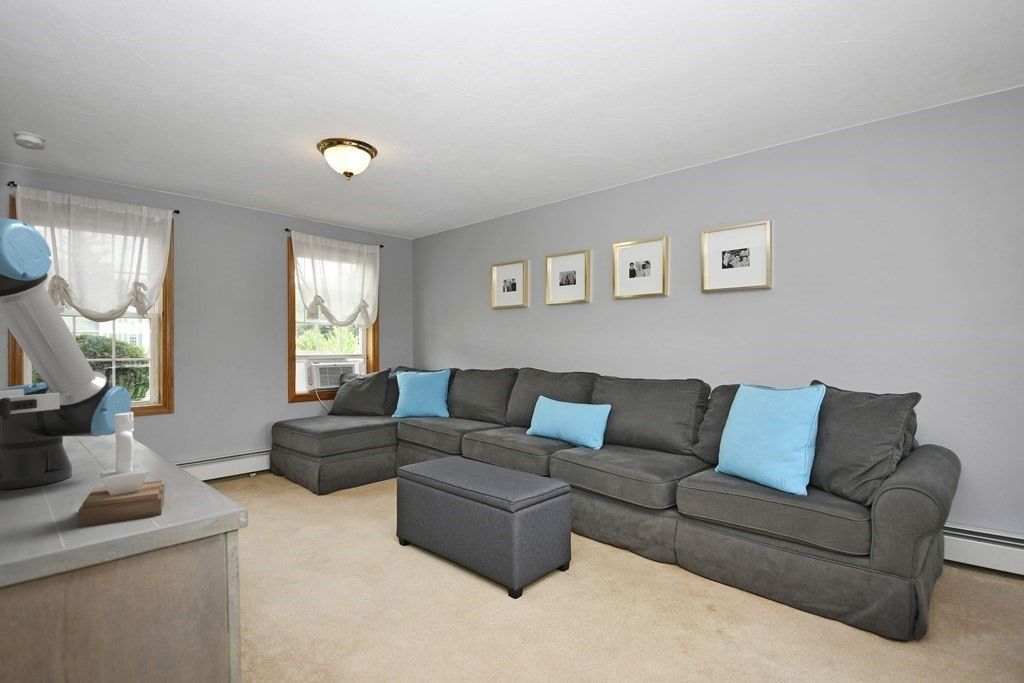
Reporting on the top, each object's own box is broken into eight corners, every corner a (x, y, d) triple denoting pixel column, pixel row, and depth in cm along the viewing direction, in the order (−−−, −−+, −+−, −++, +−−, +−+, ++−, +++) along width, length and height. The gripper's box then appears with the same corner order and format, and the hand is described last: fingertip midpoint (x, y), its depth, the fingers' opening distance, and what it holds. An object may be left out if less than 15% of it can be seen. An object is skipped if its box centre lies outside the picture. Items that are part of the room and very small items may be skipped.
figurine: (101, 500, 92) (101, 416, 93) (99, 489, 100) (99, 412, 100) (149, 492, 97) (149, 413, 97) (144, 482, 104) (144, 408, 104)
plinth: (90, 508, 100) (90, 488, 100) (164, 498, 107) (164, 479, 107) (78, 526, 90) (78, 504, 90) (161, 514, 96) (161, 493, 96)
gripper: (-176, 435, 78) (10, 414, 97) (-125, 451, 66) (75, 425, 85) (-177, 385, 78) (9, 375, 96) (-126, 393, 66) (74, 380, 85)
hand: (40, 398), depth 91 cm, fingers open, 13 cm apart
